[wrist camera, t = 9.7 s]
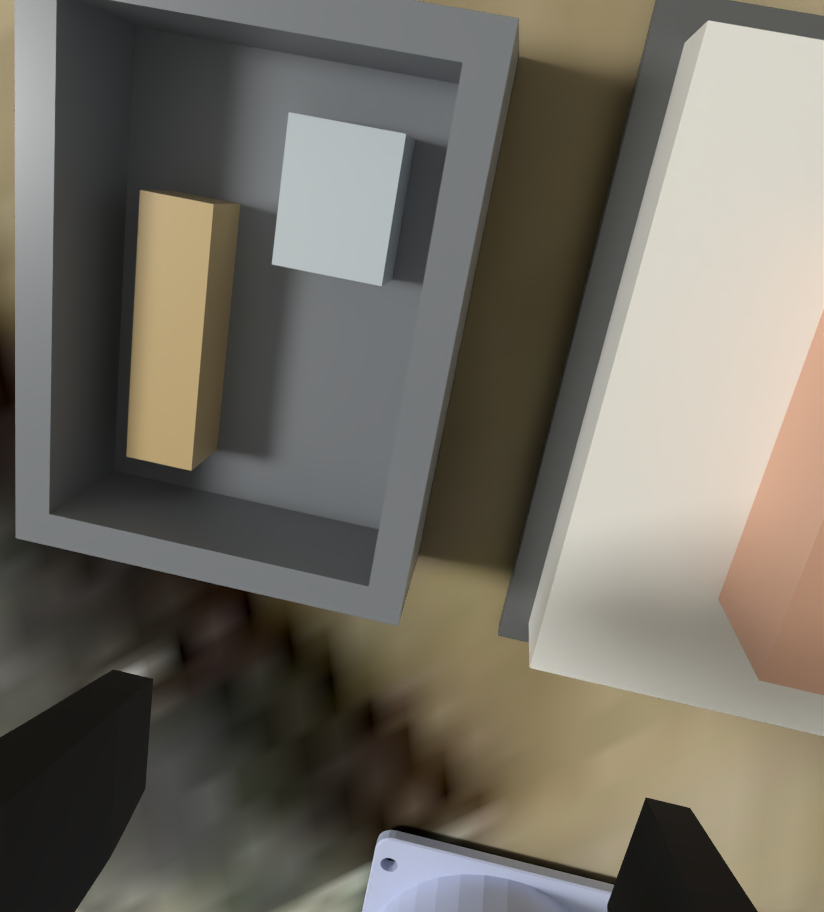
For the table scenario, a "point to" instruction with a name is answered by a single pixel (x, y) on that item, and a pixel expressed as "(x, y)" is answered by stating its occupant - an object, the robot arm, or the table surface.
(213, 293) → the storage box
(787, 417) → the lid
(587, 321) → the mat
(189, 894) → the table surface
